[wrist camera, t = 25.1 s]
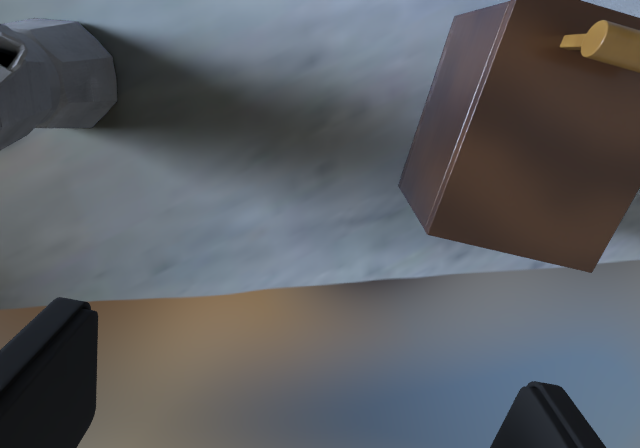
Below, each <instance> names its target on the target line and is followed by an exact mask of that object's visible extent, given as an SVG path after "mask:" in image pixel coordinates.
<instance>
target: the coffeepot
mask: <svg viewBox="0 0 640 448" xmlns="http://www.w3.org/2000/svg"><path fill="white" fill-rule="evenodd" d="M116 102H117V78H116V73H115V68H114V64H113V57H112V56H111V55H110V54H109V53H108V51H107V50H106V49H105V48H104V47H103V46H102V45H101V43H100V42H99V41H98V40H97V39H96V38H95V37H94V36H93V35H91V34H90V33H89V32H88V31H87V30H86V29H85V28H84V27H83V26H82V25H81V24H80V23H79V22H76V21H63V20H51V19H38V18H32V19H27V20H21V21H15V22H10V23H4V24H0V150H2V149H4V148H5V147H7V146H9V145H11V144H12V143H14V142H16V141H18V140H19V139H21V138H23V137H25V136H27V135H28V134H29V133H30V132H31V131H32V130H33V129H34V128H92V127H93V126H94V125H95V124H96V123H97V122H98V121H99V120H100V119H101V118H102V117H103V116H104V115H106V113H107V112H108V111H109V109H110V108H111V107H112V106H113V105H114V104H115V103H116Z"/></svg>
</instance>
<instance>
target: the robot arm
mask: <svg viewBox="0 0 640 448" xmlns="http://www.w3.org/2000/svg"><path fill="white" fill-rule="evenodd" d="M97 336H98V314H97V312H96V311H93V310H91V307H90V304H89V303H88V302H84V301H78V300H73V299H67V298H61V297H59V298H56V299H55V300H53V301H52V302H51V303H50V304H49V305H48V306H47V307H46V308H45V309H44V310H43V311H42V312H40V313H39V314H38V315H37V316H36V317H35V318H34V319H33V320H32V321H31V322H30V323H29V324H28V325H27V326H25V327H24V328H23V329H22V330H21V331H20V332H19V333H18V334H17V335H16V336H15V337H14V338H13V339H12V340H11V341H9V342H8V343H7V344H6V345H5V346H4V347H3V348H2V349H1V350H0V448H77V446H78V444H79V443H80V441H81V439H82V438H83V436H84V434H85V433H86V431H87V429H88V428H89V426H90V424H91V422H92V420H93V417H94V414H95V409H96V381H97V379H96V378H97V339H98V337H97ZM490 448H606V447H605V445H604V444H603V442H602V441H601V440H600V438H599V437H598V436H597V434H596V433H595V431H594V430H593V429H592V427H591V426H590V425H589V423H588V422H587V420H585V418H584V416H583V415H582V414H581V412H580V411H579V410H578V408H577V407H576V405H575V404H574V403H573V401H572V400H571V399H570V397H569V396H568V394H567V393H566V392H565V390H563V388H562V387H560V386H558V385H552V384H547V383H541V382H536V381H534V382H530V383H529V384H528V385H527V386H526V387H522V388H521V389H520V391H519V393H518V395H517V397H516V398H515V400H514V403H513V404H512V406H511V408H510V410H509V412H508V414H507V416H506V418H505V420H504V422H503V424H502V426H501V428H500V430H499V432H498V433H497V435H496V437H495V439H494V441H493V443H492V445H491V447H490Z"/></svg>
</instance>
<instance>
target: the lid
mask: <svg viewBox="0 0 640 448" xmlns="http://www.w3.org/2000/svg"><path fill="white" fill-rule="evenodd" d="M639 188H640V18H638V17H634V16H631V15H628V14H624V13H621V12H618V11H614V10H611V9H608V8H604V7H601V6H598V5H594V4H591V3H588V2H584V1H581V0H511V1H510V4H509V7H508V9H507V12H506V15H505V17H504V20H503V23H502V25H501V28H500V31H499V33H498V36H497V39H496V41H495V44H494V47H493V49H492V52H491V55H490V57H489V60H488V63H487V65H486V68H485V71H484V73H483V76H482V79H481V81H480V84H479V87H478V89H477V92H476V95H475V97H474V100H473V103H472V105H471V108H470V111H469V113H468V116H467V119H466V122H465V124H464V127H463V130H462V132H461V135H460V138H459V140H458V143H457V146H456V148H455V151H454V154H453V156H452V159H451V162H450V164H449V167H448V170H447V172H446V175H445V178H444V180H443V183H442V186H441V188H440V191H439V194H438V196H437V199H436V202H435V204H434V207H433V210H432V212H431V215H430V218H429V220H428V223H427V226H426V228H425V231H426V233H427V235H431V236H435V237H440V238H444V239H448V240H453V241H457V242H461V243H465V244H470V245H474V246H478V247H483V248H487V249H491V250H496V251H500V252H504V253H508V254H513V255H517V256H521V257H526V258H530V259H534V260H538V261H543V262H547V263H551V264H556V265H560V266H564V267H568V268H573V269H577V270H582V271H586V272H590V273H592V272H593V270H594V268H595V266H596V264H597V263H598V261H599V259H600V257H601V256H602V254H603V252H604V250H605V248H606V247H607V245H608V243H609V241H610V240H611V238H612V236H613V234H614V232H615V231H616V229H617V227H618V225H619V224H620V222H621V220H622V218H623V216H624V215H625V213H626V211H627V209H628V208H629V206H630V204H631V202H632V200H633V199H634V197H635V195H636V193H637V192H638V190H639Z"/></svg>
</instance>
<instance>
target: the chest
mask: <svg viewBox="0 0 640 448" xmlns="http://www.w3.org/2000/svg"><path fill="white" fill-rule="evenodd" d="M509 4H510V1H508V2H504V3H501V4H497V5H493V6H490V7H486V8H483V9H479V10H475V11H472V12H468V13H464V14H461V15H457V16H454V19H453V22H452V25H451V28H450V31H449V34H448V37H447V40H446V43H445V46H444V49H443V52H442V55H441V58H440V61H439V64H438V67H437V70H436V73H435V76H434V79H433V82H432V85H431V88H430V91H429V94H428V97H427V100H426V103H425V106H424V109H423V112H422V115H421V118H420V121H419V124H418V127H417V130H416V133H415V136H414V140H413V143H412V146H411V149H410V152H409V155H408V158H407V161H406V164H405V167H404V170H403V173H402V176H401V179H400V182H399V185H398V186H399V188H400V190H401V191H402V193H403V195H404V196H405V198H406V200H407V201H408V203H409V205H410V206H411V208H412V210H413V211H414V213H415V215H416V216H417V218H418V219H419V221H420V223H421V224H422V226H423V228H424V229H425V228H426V226H427V223H428V220H429V218H430V215H431V212H432V210H433V207H434V204H435V202H436V199H437V196H438V194H439V191H440V188H441V186H442V183H443V180H444V178H445V175H446V172H447V170H448V167H449V164H450V162H451V159H452V156H453V154H454V151H455V148H456V146H457V143H458V140H459V138H460V135H461V132H462V130H463V127H464V124H465V122H466V119H467V116H468V113H469V111H470V108H471V105H472V103H473V100H474V97H475V95H476V92H477V89H478V87H479V84H480V81H481V79H482V76H483V73H484V71H485V68H486V65H487V63H488V60H489V57H490V55H491V52H492V49H493V47H494V44H495V41H496V39H497V36H498V33H499V31H500V28H501V25H502V23H503V20H504V17H505V15H506V12H507V9H508V7H509Z"/></svg>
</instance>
